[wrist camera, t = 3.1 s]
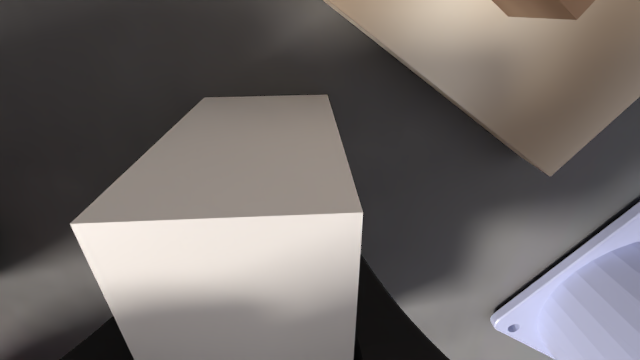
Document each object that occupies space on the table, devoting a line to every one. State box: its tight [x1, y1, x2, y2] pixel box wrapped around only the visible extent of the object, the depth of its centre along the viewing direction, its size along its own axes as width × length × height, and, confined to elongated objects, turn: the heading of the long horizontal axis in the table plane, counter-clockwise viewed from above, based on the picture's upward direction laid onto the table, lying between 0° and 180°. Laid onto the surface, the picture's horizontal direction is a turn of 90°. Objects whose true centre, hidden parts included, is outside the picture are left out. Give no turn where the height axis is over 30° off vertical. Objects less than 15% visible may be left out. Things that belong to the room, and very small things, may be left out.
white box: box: [70, 95, 363, 360], centre depth 9 cm, size 4×10×6 cm, turn 0°
